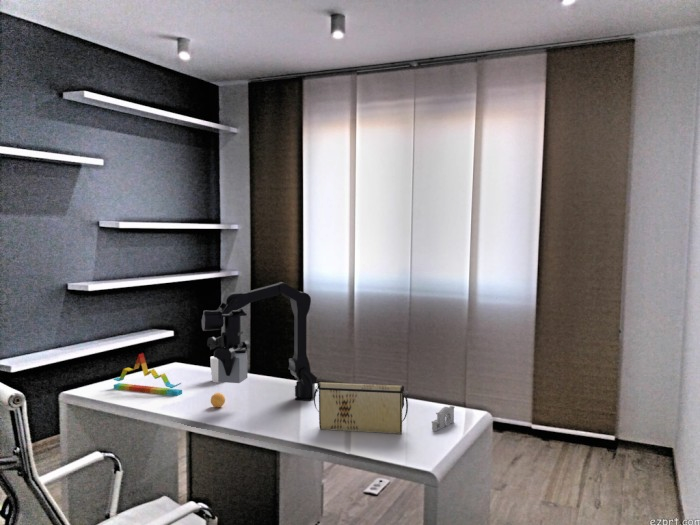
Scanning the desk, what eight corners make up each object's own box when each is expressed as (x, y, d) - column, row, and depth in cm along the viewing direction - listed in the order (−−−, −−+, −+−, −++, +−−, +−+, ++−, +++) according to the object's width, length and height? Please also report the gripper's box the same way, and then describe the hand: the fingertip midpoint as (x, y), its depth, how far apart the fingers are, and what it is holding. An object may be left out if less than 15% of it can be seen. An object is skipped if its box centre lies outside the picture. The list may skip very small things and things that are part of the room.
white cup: (227, 383, 234) (227, 359, 234) (208, 383, 234) (207, 359, 234) (231, 378, 242) (231, 355, 241) (213, 378, 242) (212, 355, 242)
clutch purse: (409, 428, 179) (409, 381, 178) (407, 436, 172) (407, 387, 171) (317, 423, 184) (316, 377, 184) (311, 430, 178) (311, 383, 177)
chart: (182, 394, 219) (181, 355, 218) (177, 396, 216) (176, 357, 215) (119, 387, 230) (118, 350, 229) (113, 389, 227) (112, 352, 226)
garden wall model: (435, 432, 175) (435, 413, 175) (430, 430, 176) (430, 412, 176) (455, 422, 184) (455, 403, 184) (450, 420, 186) (450, 402, 185)
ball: (211, 396, 205) (219, 407, 204) (205, 400, 200) (214, 412, 199) (221, 388, 204) (230, 399, 204) (215, 392, 199) (224, 403, 199)
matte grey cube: (247, 377, 203) (247, 353, 203) (239, 383, 195) (239, 357, 195) (227, 376, 204) (227, 352, 204) (218, 382, 197) (218, 356, 196)
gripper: (221, 324, 210) (221, 366, 210) (199, 332, 191) (199, 378, 192) (250, 325, 208) (250, 367, 208) (230, 333, 189) (230, 380, 190)
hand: (232, 373), depth 200 cm, fingers closed on matte grey cube, 8 cm apart
